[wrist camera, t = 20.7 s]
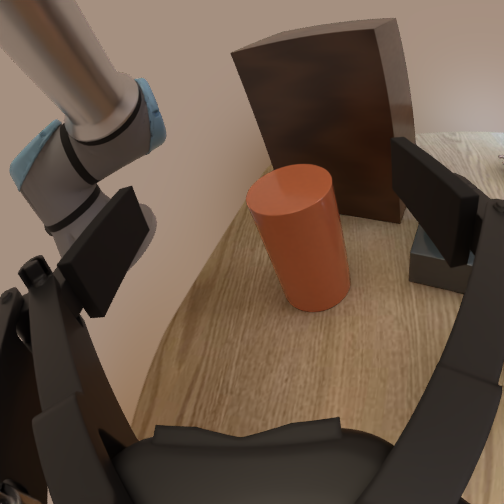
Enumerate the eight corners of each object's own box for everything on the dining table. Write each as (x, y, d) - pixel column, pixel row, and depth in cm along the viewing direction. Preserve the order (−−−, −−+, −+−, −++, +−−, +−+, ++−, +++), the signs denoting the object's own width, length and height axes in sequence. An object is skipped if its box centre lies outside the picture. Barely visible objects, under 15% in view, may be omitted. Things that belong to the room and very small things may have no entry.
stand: (286, 206, 43) (230, 53, 29) (320, 162, 49) (281, 32, 35) (400, 223, 34) (373, 28, 20) (417, 170, 40) (395, 17, 26)
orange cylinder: (272, 301, 32) (229, 209, 25) (303, 253, 36) (273, 162, 28) (333, 320, 28) (308, 221, 21) (360, 266, 32) (344, 166, 24)
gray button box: (408, 281, 28) (410, 236, 24) (427, 217, 33) (427, 174, 29) (516, 306, 21) (536, 263, 17) (517, 235, 26) (527, 192, 22)
